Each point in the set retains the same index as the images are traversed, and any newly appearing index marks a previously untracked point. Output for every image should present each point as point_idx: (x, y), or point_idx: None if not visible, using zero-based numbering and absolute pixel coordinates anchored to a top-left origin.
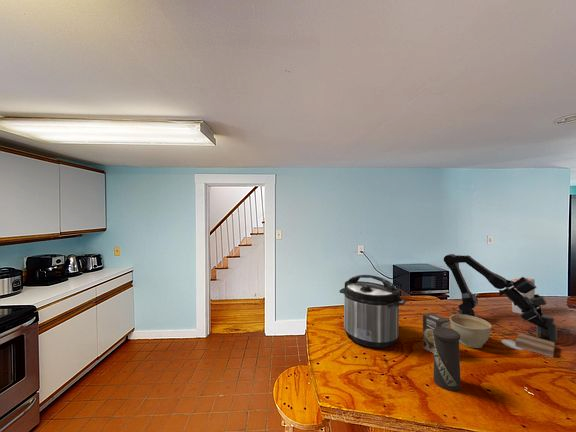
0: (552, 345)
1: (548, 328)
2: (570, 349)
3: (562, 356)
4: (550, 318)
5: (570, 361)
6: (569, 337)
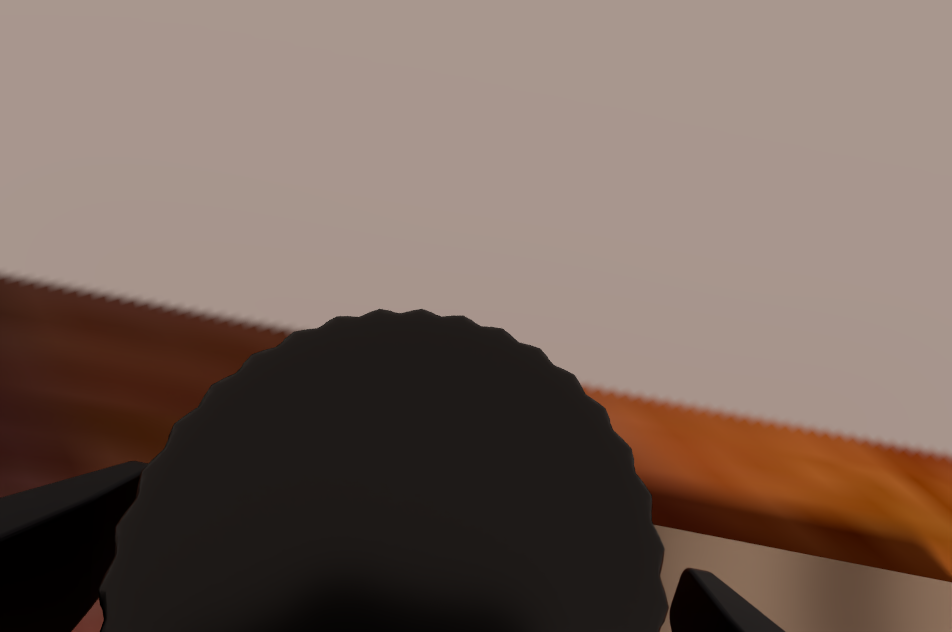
0: (814, 574)
1: (713, 574)
2: None
3: (827, 499)
4: (588, 415)
5: (888, 450)
6: (87, 307)
